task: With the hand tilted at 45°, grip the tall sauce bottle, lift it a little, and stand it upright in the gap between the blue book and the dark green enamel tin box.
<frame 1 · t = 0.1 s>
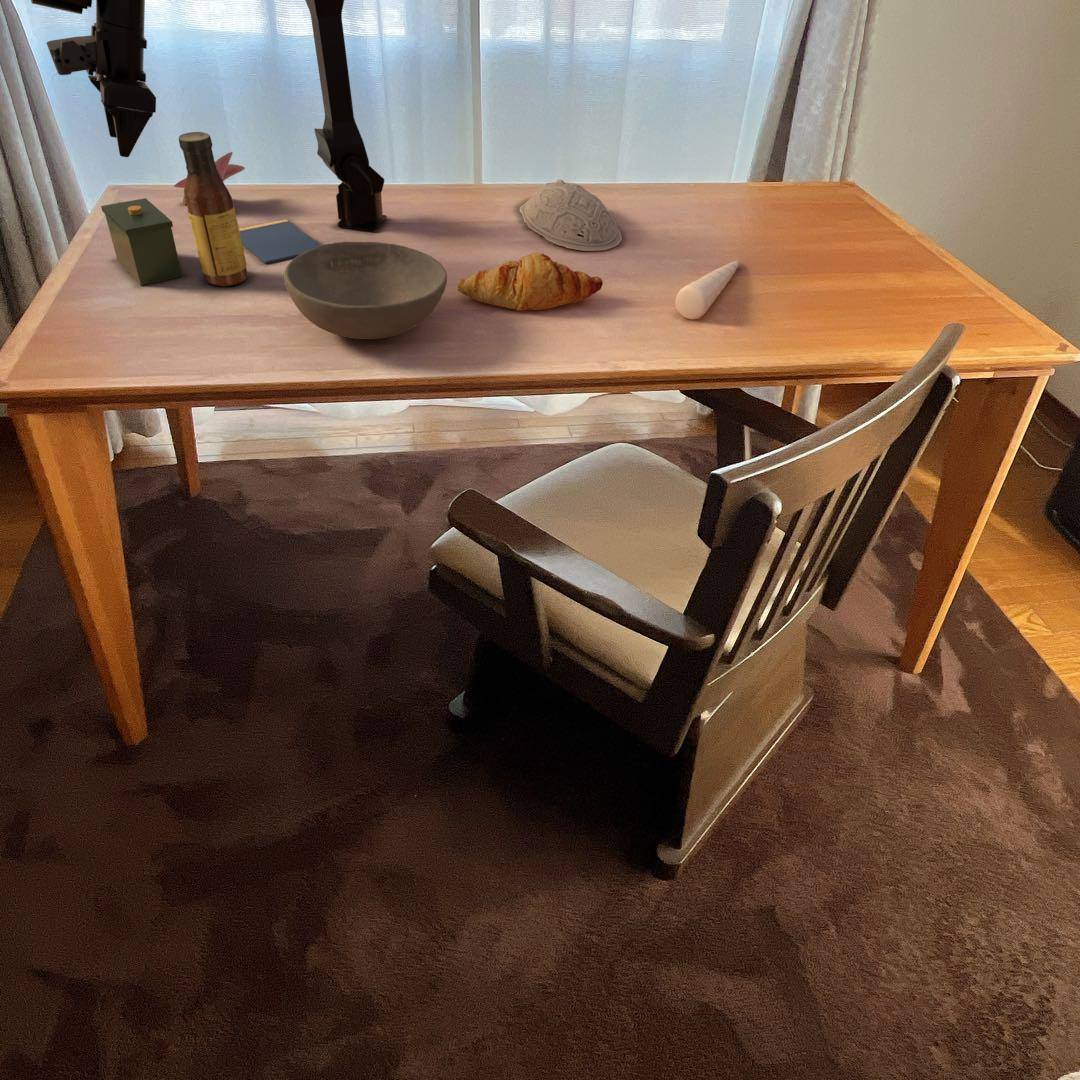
hand: (119, 146, 123), 15 cm above the table, tool pointing down, fingers open, 9 cm apart
lily: (215, 207, 149), on the table
unicorn horn: (710, 293, 134), on the table
croissant: (529, 299, 128), on the table
bowl: (370, 326, 120), on the table
tin box: (149, 268, 129), on the table
blue book: (276, 241, 139), on the table
sauce bottle: (225, 280, 128), on the table
grey domed shell: (569, 224, 152), on the table
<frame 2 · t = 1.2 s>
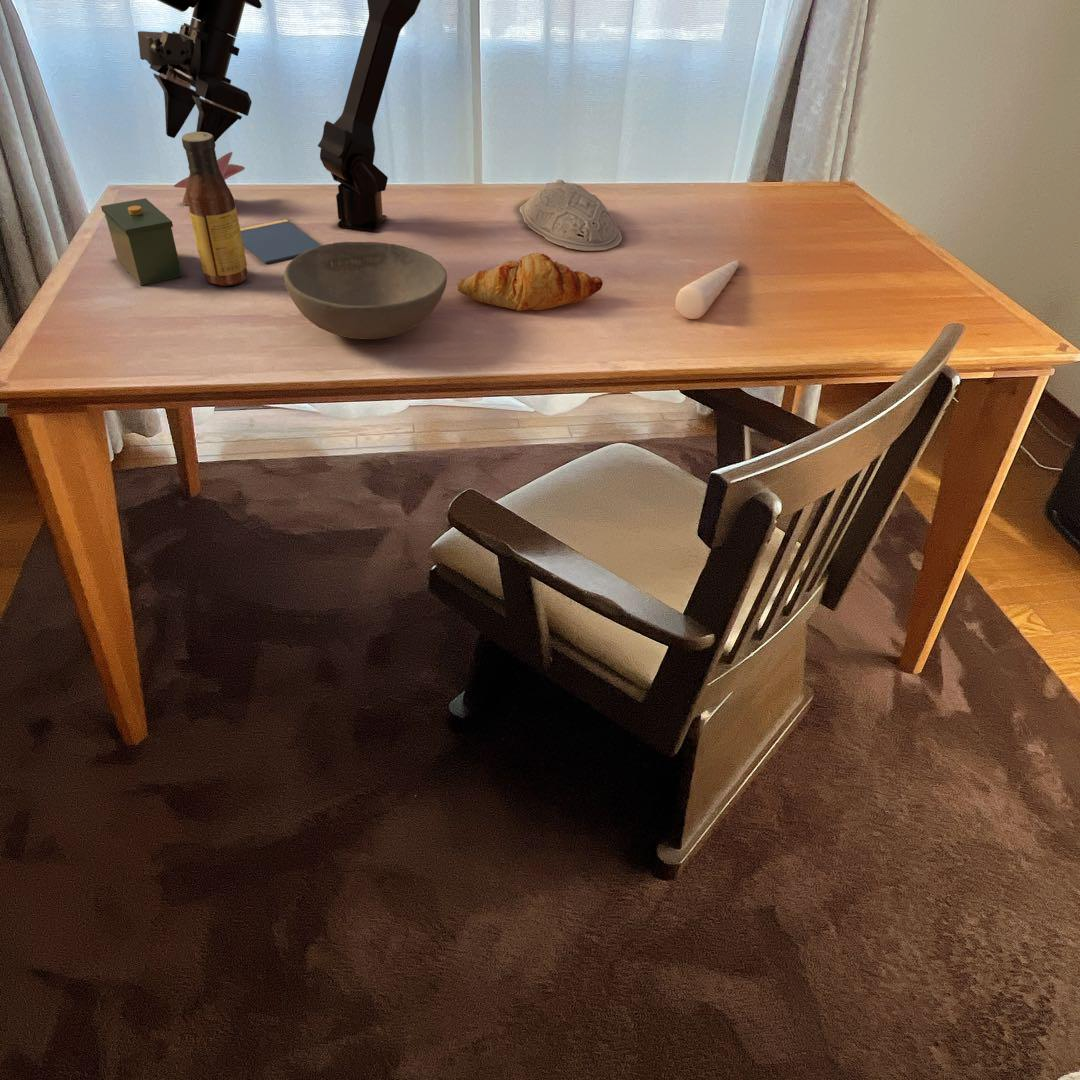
hand: (183, 145, 122), 17 cm above the table, tool tilted 25°, fingers open, 9 cm apart
nothing on the table moved.
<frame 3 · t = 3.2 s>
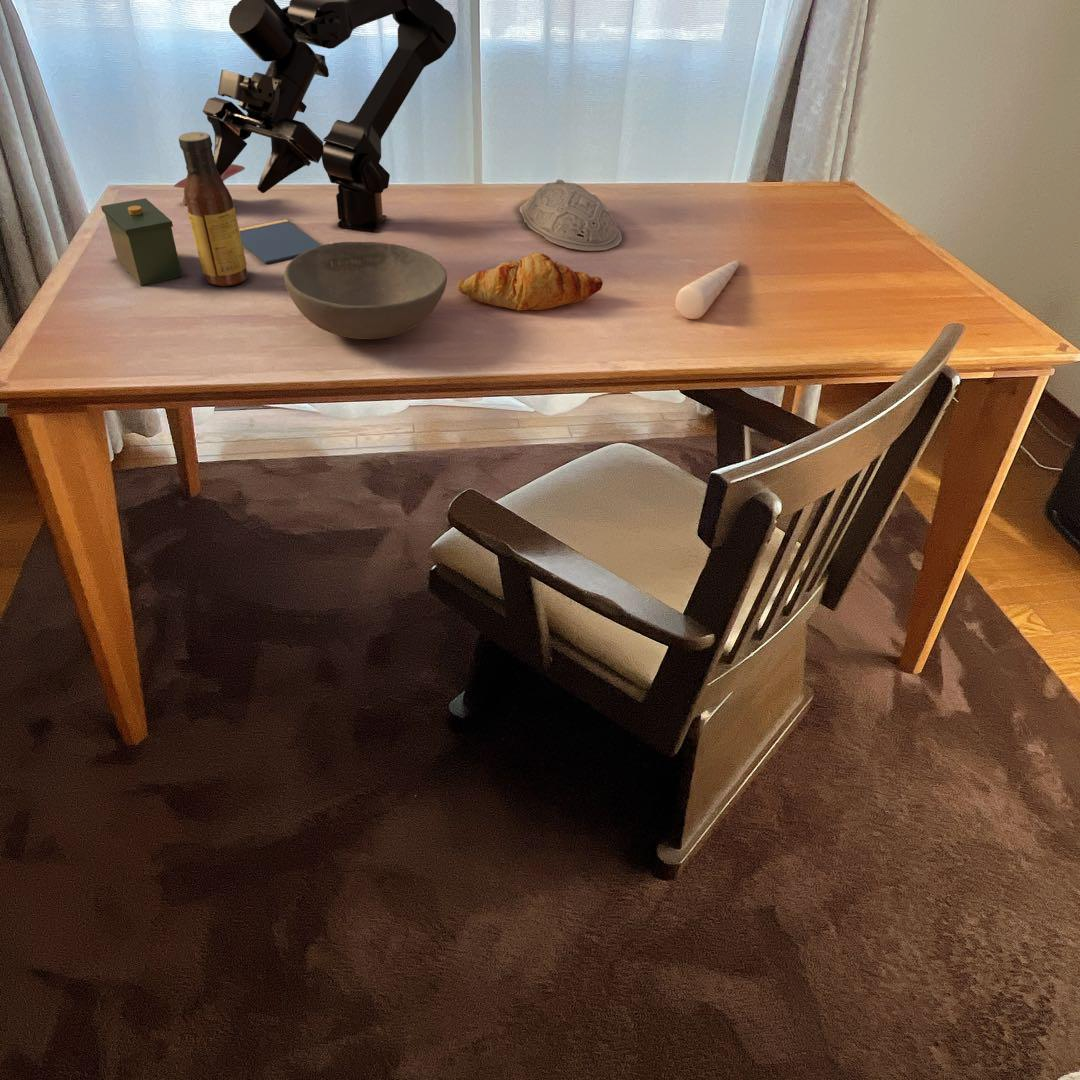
hand: (237, 183, 123), 12 cm above the table, tool tilted 45°, fingers open, 9 cm apart
nothing on the table moved.
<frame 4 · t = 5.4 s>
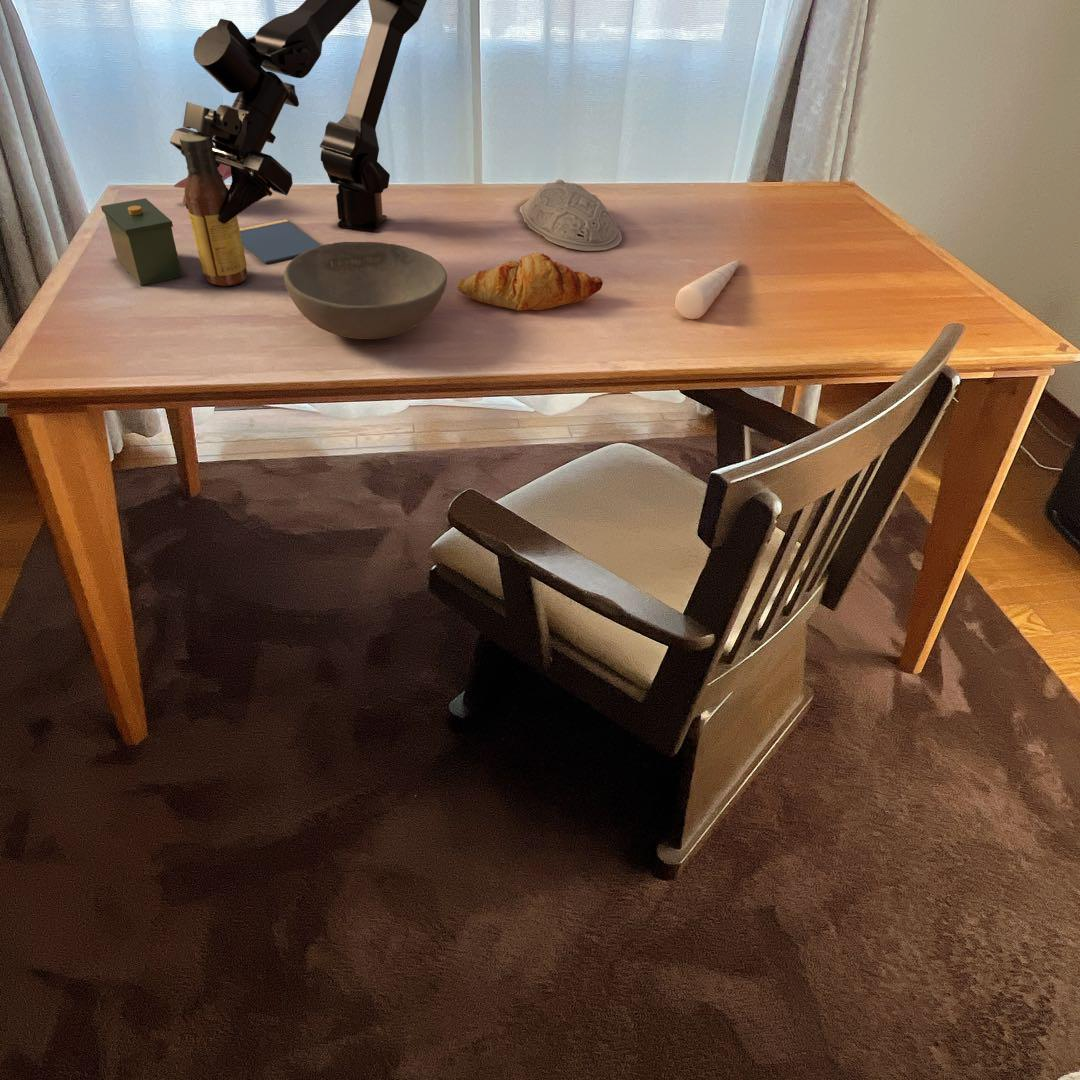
hand: (204, 216, 121), 10 cm above the table, tool tilted 45°, fingers closed on sauce bottle, 6 cm apart
sauce bottle: (225, 280, 128), on the table, touching gripper
everything else where it was.
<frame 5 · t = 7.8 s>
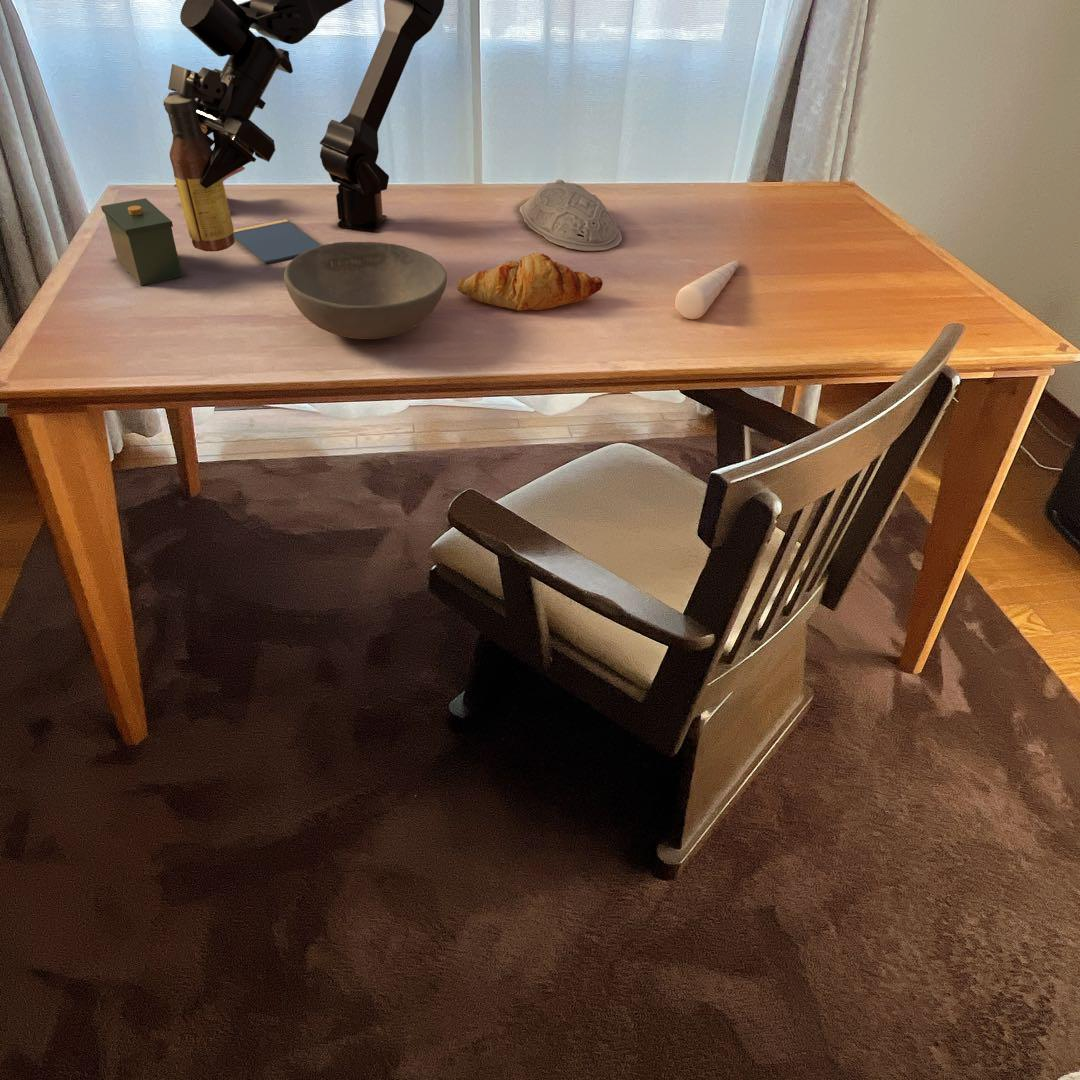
hand: (189, 179, 121), 13 cm above the table, tool tilted 45°, fingers closed on sauce bottle, 6 cm apart
sauce bottle: (213, 245, 128), point 3 cm above the table, touching gripper
everything else where it was.
when the fingers open (10 cm above the table, at t = 10.3 s): sauce bottle stays where it is, on the table.
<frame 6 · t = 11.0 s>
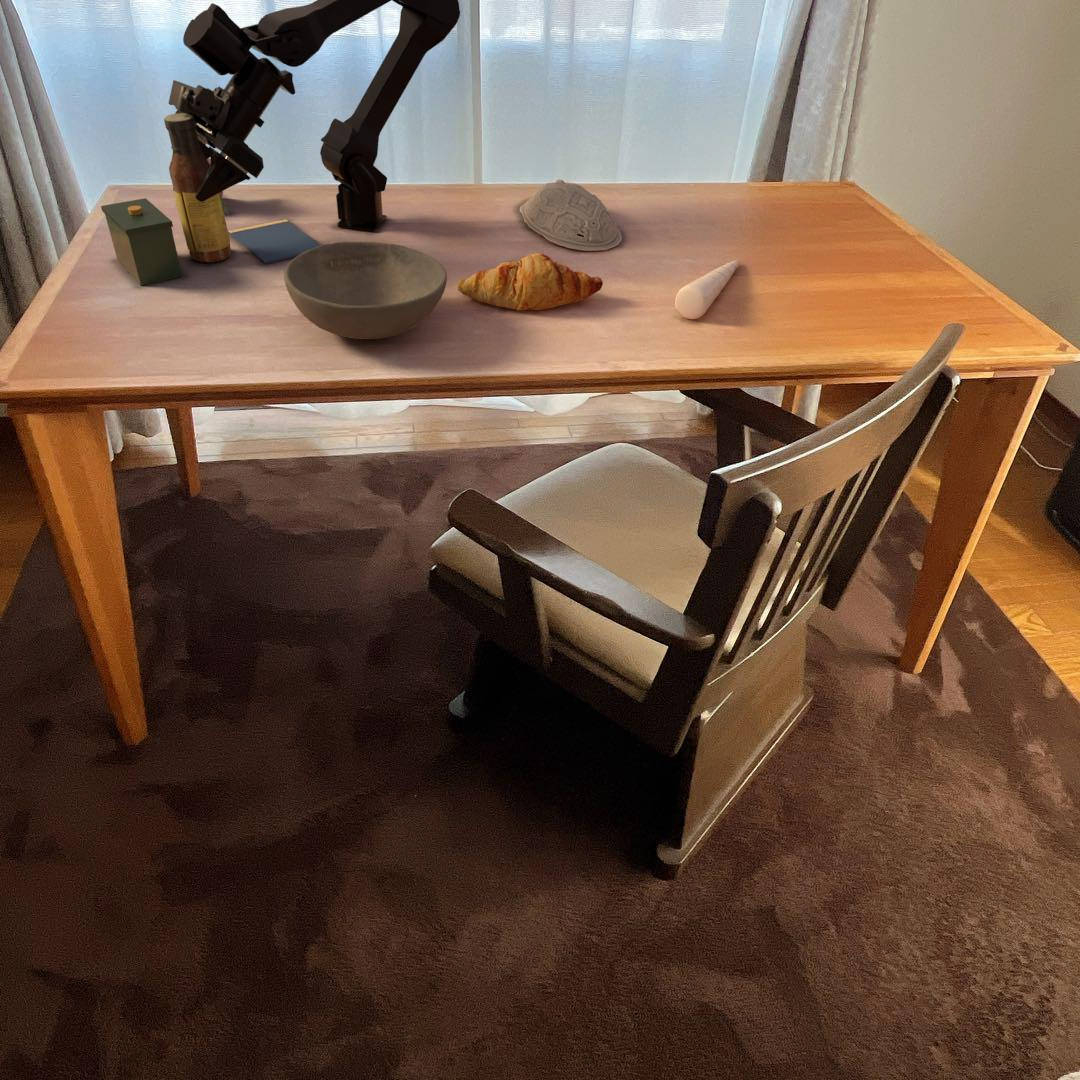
hand: (185, 190, 126), 10 cm above the table, tool tilted 45°, fingers open, 9 cm apart
sauce bottle: (210, 257, 134), on the table
everything else where it was.
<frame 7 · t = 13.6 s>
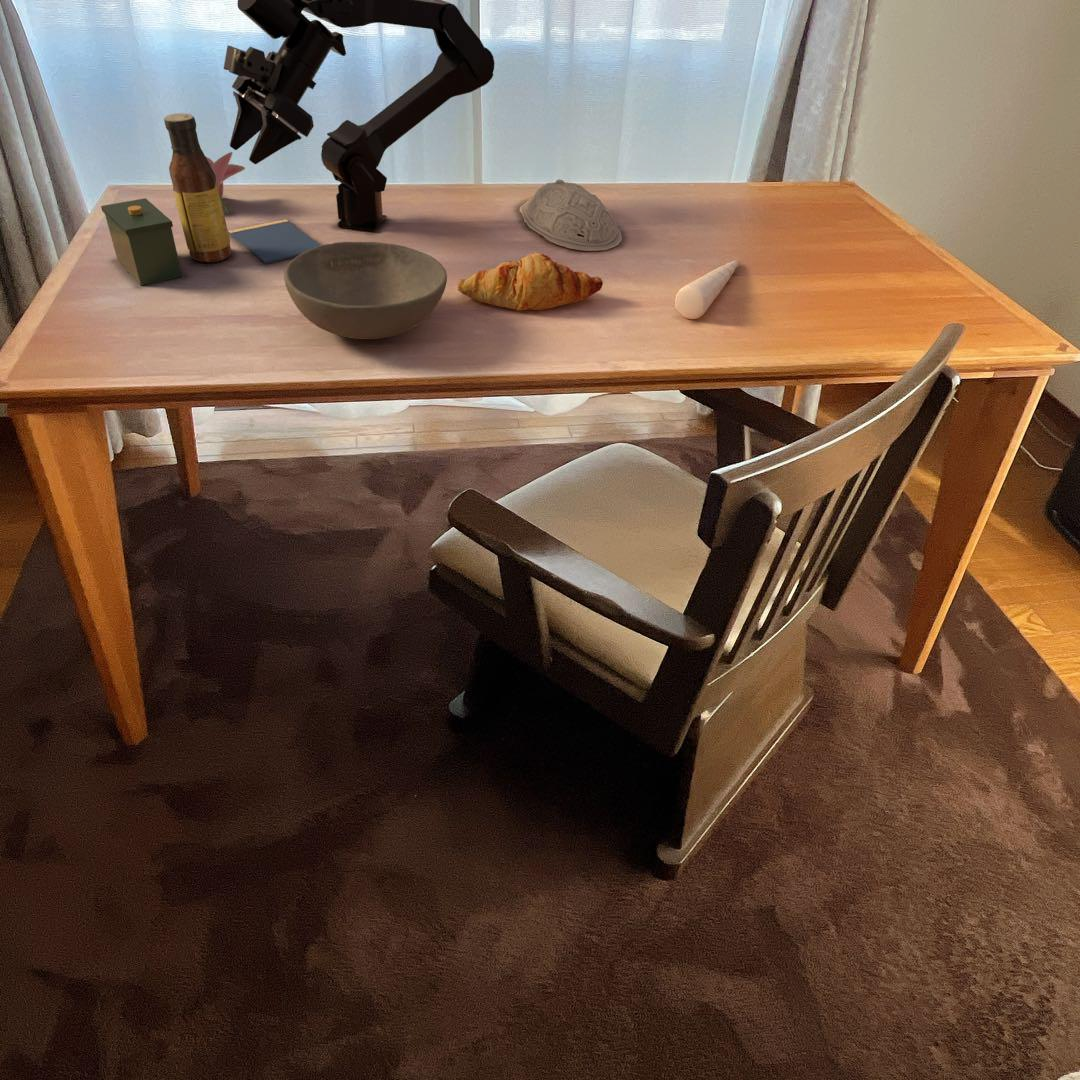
hand: (242, 155, 129), 14 cm above the table, tool tilted 40°, fingers open, 9 cm apart
nothing on the table moved.
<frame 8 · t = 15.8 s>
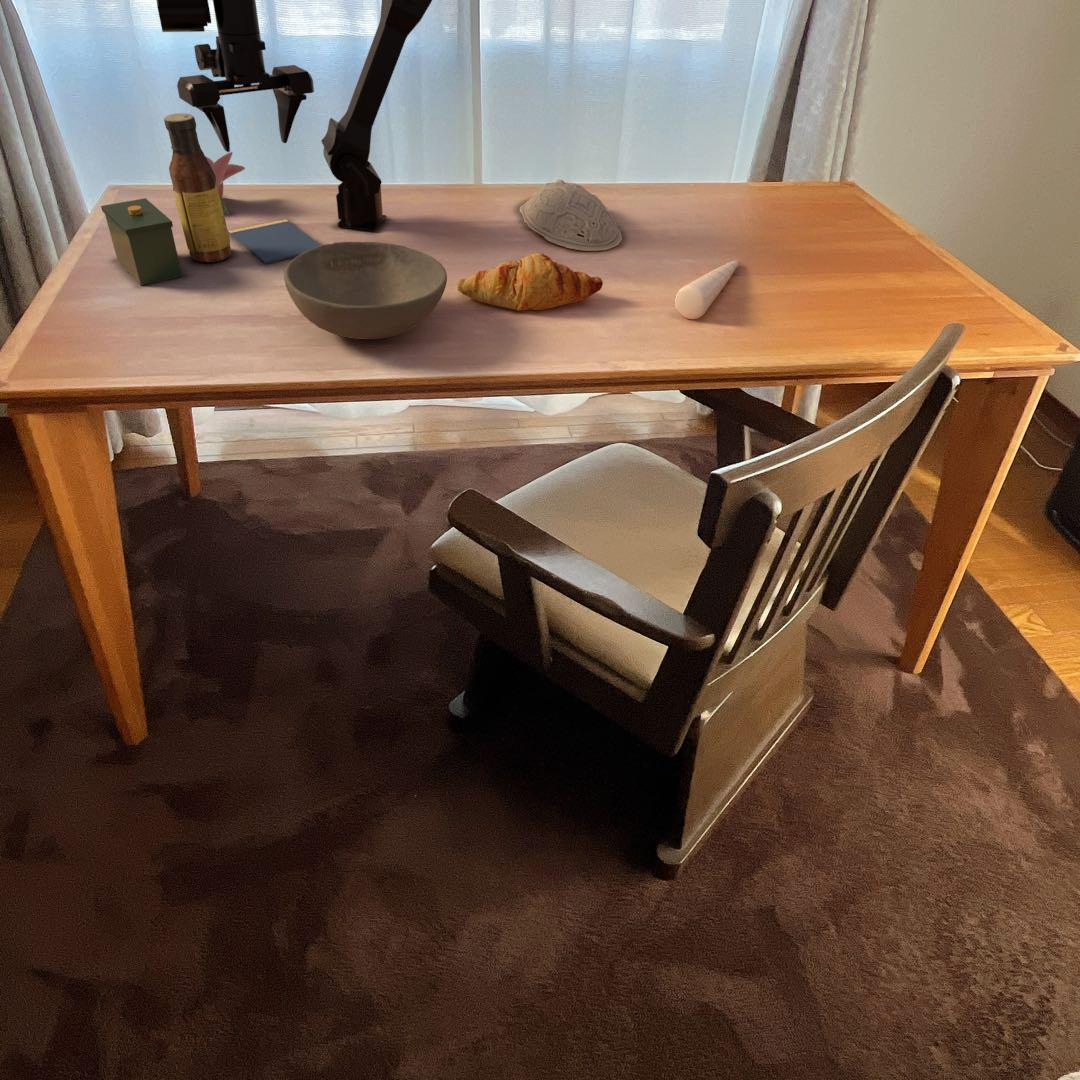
hand: (256, 146, 134), 13 cm above the table, tool pointing down, fingers open, 9 cm apart
nothing on the table moved.
at the end: sauce bottle 0.1 cm from the target spot, on the table; sauce bottle tilted 0°; sauce bottle touching table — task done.
